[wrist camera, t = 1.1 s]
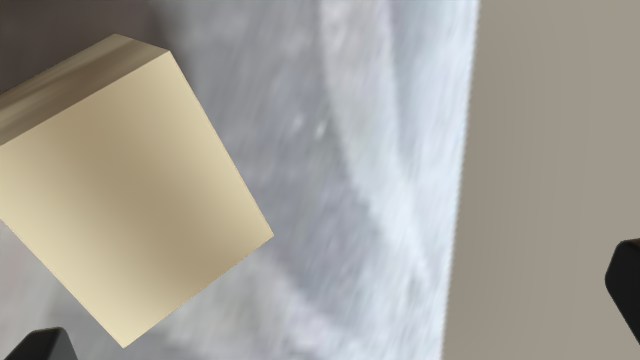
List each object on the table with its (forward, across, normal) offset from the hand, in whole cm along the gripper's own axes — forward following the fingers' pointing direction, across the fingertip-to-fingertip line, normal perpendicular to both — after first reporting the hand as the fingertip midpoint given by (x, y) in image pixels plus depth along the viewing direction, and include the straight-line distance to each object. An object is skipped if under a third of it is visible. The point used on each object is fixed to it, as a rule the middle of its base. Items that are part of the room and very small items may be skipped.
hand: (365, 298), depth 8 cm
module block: (+11, +6, +2) cm, 13 cm away
